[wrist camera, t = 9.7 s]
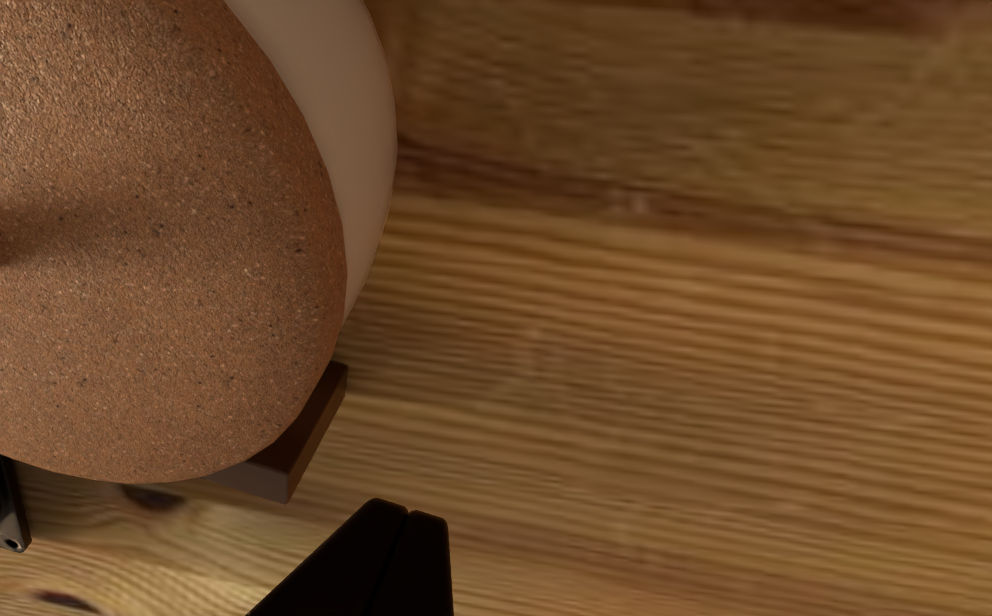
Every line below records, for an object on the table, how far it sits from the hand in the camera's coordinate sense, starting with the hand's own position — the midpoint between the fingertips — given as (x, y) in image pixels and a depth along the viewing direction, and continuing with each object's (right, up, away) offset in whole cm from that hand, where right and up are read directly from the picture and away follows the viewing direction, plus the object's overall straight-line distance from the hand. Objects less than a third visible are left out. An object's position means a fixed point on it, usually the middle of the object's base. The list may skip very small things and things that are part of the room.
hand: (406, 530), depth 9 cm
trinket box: (-5, +8, +10) cm, 14 cm away
